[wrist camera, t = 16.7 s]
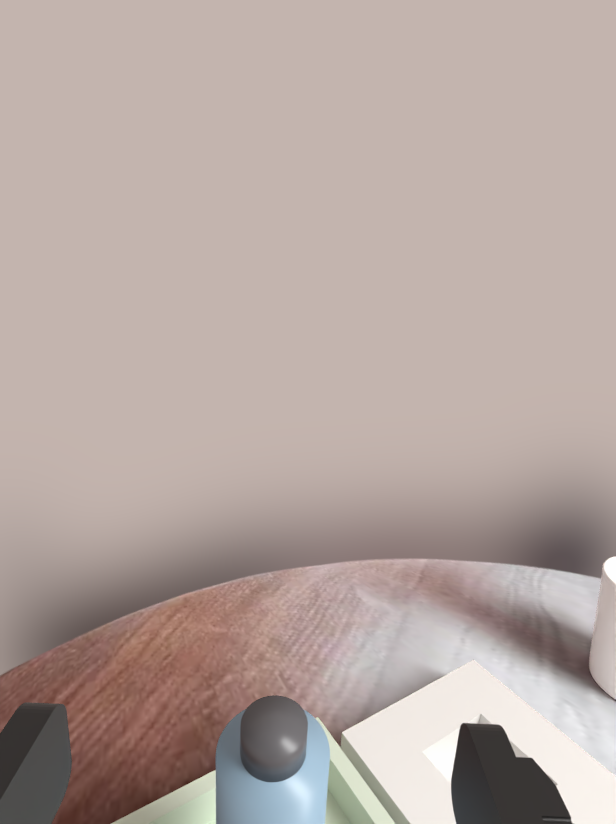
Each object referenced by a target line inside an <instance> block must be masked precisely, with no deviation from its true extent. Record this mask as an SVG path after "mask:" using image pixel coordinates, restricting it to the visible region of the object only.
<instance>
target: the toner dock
mask: <svg viewBox="0 0 616 824" xmlns="http://www.w3.org/2000/svg"><path fill="white" fill-rule="evenodd" d="M462 723H475V724H498V725H501V726H502V727H503V729H504V730H505V732H506V734H507V737H508V739H509V741H510V744H511V746H512V748H513V750H514V753H515V755H516V757H526V758H533V759H534V761H535V762H536V763H537V764H538V765H539V766H540V767H541V769H542V770H543V771H544V772H545V773H546V774H547V776H548V777H549V778H550V779H551V780H552V781H553V783H554V784H555V785H556V787H557V789H558V791H559V793H560V795H561V797H562V799H563V801H564V803H565V805H566V808H567V810H568V812H569V814H570V816H571V821H572V823H573V824H616V776H615V775H614V774H613V773H612V772H610V771H609V770H608V769H607V768H605V767H604V766H603V765H602V764H600V763H599V762H598V761H597V760H596V759H594V758H593V757H592V756H591V755H589V754H588V753H587V752H586V751H585V750H583V749H582V748H581V747H580V746H578V745H577V744H576V743H575V742H574V741H572V740H571V739H570V738H569V737H567V736H566V735H565V734H564V733H563V732H561V731H560V730H559V729H558V728H556V727H555V726H554V725H553V724H552V723H550V722H549V721H548V720H547V719H545V718H544V717H543V716H542V715H541V714H539V713H538V712H537V711H536V710H534V709H533V708H532V707H531V706H530V705H528V704H527V703H526V702H525V701H523V700H522V699H521V698H520V697H519V696H517V695H516V694H515V693H514V692H512V691H511V690H510V689H509V688H508V687H506V686H505V685H504V684H503V683H501V682H500V681H499V680H498V679H496V678H495V677H494V676H493V675H492V674H490V673H489V672H488V671H487V670H485V669H484V668H483V667H482V666H481V665H479V664H478V663H477V662H476V661H474V660H472V661H470V662H469V663H467V664H465V665H463V666H461V667H459V668H458V669H456V670H454V671H452V672H450V673H449V674H447V675H445V676H443V677H441V678H439V679H438V680H436V681H434V682H432V683H430V684H429V685H427V686H425V687H423V688H421V689H420V690H418V691H416V692H414V693H412V694H410V695H409V696H407V697H405V698H403V699H401V700H400V701H398V702H396V703H394V704H392V705H390V706H389V707H387V708H385V709H383V710H381V711H380V712H378V713H376V714H374V715H372V716H371V717H369V718H367V719H365V720H363V721H361V722H360V723H358V724H356V725H354V726H352V727H351V728H349V729H347V730H345V731H343V732H342V736H341V749H342V751H343V752H344V753H345V755H346V756H347V758H348V759H349V760H350V762H351V763H352V764H353V766H354V767H355V769H356V770H357V771H358V773H359V774H360V775H361V777H362V778H363V780H364V781H365V782H366V784H367V785H368V787H369V788H370V789H371V791H372V792H373V793H374V795H375V796H376V798H377V799H378V800H379V802H380V803H381V804H382V806H383V807H384V809H385V810H386V811H387V813H388V814H389V815H390V817H391V818H392V820H393V821H394V822H395V824H456V820H455V816H454V811H453V805H452V796H451V778H452V771H453V765H454V759H455V753H456V747H457V741H458V736H459V730H460V726H461V724H462Z"/></svg>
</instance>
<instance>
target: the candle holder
mask: <svg viewBox="0 0 616 824" xmlns="http://www.w3.org/2000/svg"><path fill="white" fill-rule="evenodd" d="M589 670H590V673H591V675H592V677H593V679H594V680H595V682H596V683H597V684H598V685H599V686H600V687H601V688H602V689H603V690H604V691H605V692H606V693H607V694H608V695H610V696H611V697H612V698H614V699H615V700H616V557H611V558H609V559H607V560H606V561H605V562H604V564H603V566H602V578H601V584H600V591H599V597H598V603H597V610H596V616H595V622H594V629H593V635H592V642H591V648H590V656H589Z"/></svg>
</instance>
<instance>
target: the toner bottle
mask: <svg viewBox="0 0 616 824" xmlns="http://www.w3.org/2000/svg"><path fill="white" fill-rule="evenodd" d="M329 762H330V748H329V742H328V739H327V736H326V734H325V731H324V729H323V728H322V726H321V725H320V723H319V722H318V721H317V720H316V719H315V718H314V717H313V716H312V715H311V714H309V713H308V712H307V711H305V710H303V709H302V707H301V706H300V705H299V704H298V703H296V702H295V701H293V700H292V699H289V698H287V697H283V696H267V697H263V698H260V699H258V700H256V701H255V702H253V703H252V704H251V705H250V706H249V707H248V708H247V709H245V710H244V711H242V712H240V713H239V714H238V715H236V716H235V717H234V718H233V719H232V720H231V721H230V722H229V723H228V724H227V726H226V727H225V729H224V730H223V732H222V734H221V736H220V738H219V741H218V744H217V749H216V824H325V815H326V802H327V789H328V776H329Z"/></svg>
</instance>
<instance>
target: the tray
mask: <svg viewBox="0 0 616 824" xmlns="http://www.w3.org/2000/svg"><path fill="white" fill-rule="evenodd" d="M315 719H316V720H317V721H318V722H319V723H320V725H321V726H322V728H323V729H324V731H325V734H326V736H327V739H328V742H329V748H330V762H329V776H328V789H327V802H326V815H325V824H395V822H394V821H393V820H392V818H391V817H390V815H389V814H388V813H387V811H386V810H385V809H384V807H383V806H382V804H381V803H380V802H379V800H378V799H377V798H376V796H375V795H374V793H373V792H372V791H371V789H370V788H369V787H368V785H367V784H366V782H365V781H364V780H363V778H362V777H361V775H360V774H359V773H358V771H357V770H356V769H355V767H354V766H353V764H352V763H351V762H350V760H349V759H348V758H347V756H346V755H345V753H344V752H343V751H342V749H341V748H340V747H339V745H338V744H337V742H336V741H335V740H334V738H333V737H332V735H331V734H330V733H329V731H328V730H327V729H326V727H325V726H324V724H323V723H322V722H321V720H320V719H319V718H318V717H317V718H315ZM111 824H216V770H214V771H212V772H210V773H208V774H207V775H205V776H203V777H201V778H199V779H197V780H195V781H193V782H191V783H189V784H187V785H185V786H183V787H181V788H179V789H177V790H175V791H173V792H172V793H170V794H168V795H166V796H164V797H162V798H160V799H158V800H156V801H154V802H152V803H150V804H148V805H146V806H144V807H142V808H140V809H139V810H137V811H135V812H133V813H131V814H129V815H127V816H125V817H123V818H121V819H119V820H117V821H115V822H113V823H111Z"/></svg>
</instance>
